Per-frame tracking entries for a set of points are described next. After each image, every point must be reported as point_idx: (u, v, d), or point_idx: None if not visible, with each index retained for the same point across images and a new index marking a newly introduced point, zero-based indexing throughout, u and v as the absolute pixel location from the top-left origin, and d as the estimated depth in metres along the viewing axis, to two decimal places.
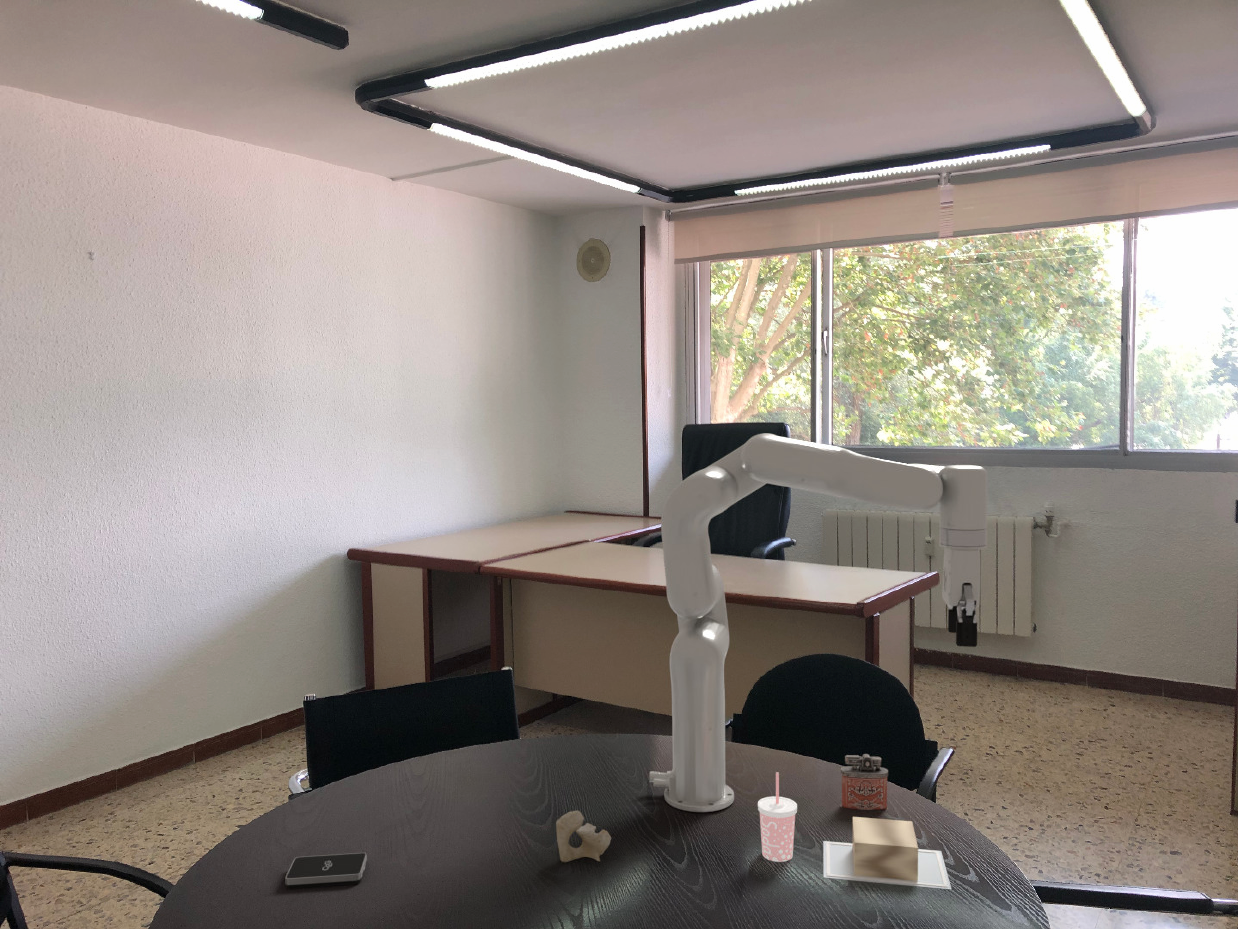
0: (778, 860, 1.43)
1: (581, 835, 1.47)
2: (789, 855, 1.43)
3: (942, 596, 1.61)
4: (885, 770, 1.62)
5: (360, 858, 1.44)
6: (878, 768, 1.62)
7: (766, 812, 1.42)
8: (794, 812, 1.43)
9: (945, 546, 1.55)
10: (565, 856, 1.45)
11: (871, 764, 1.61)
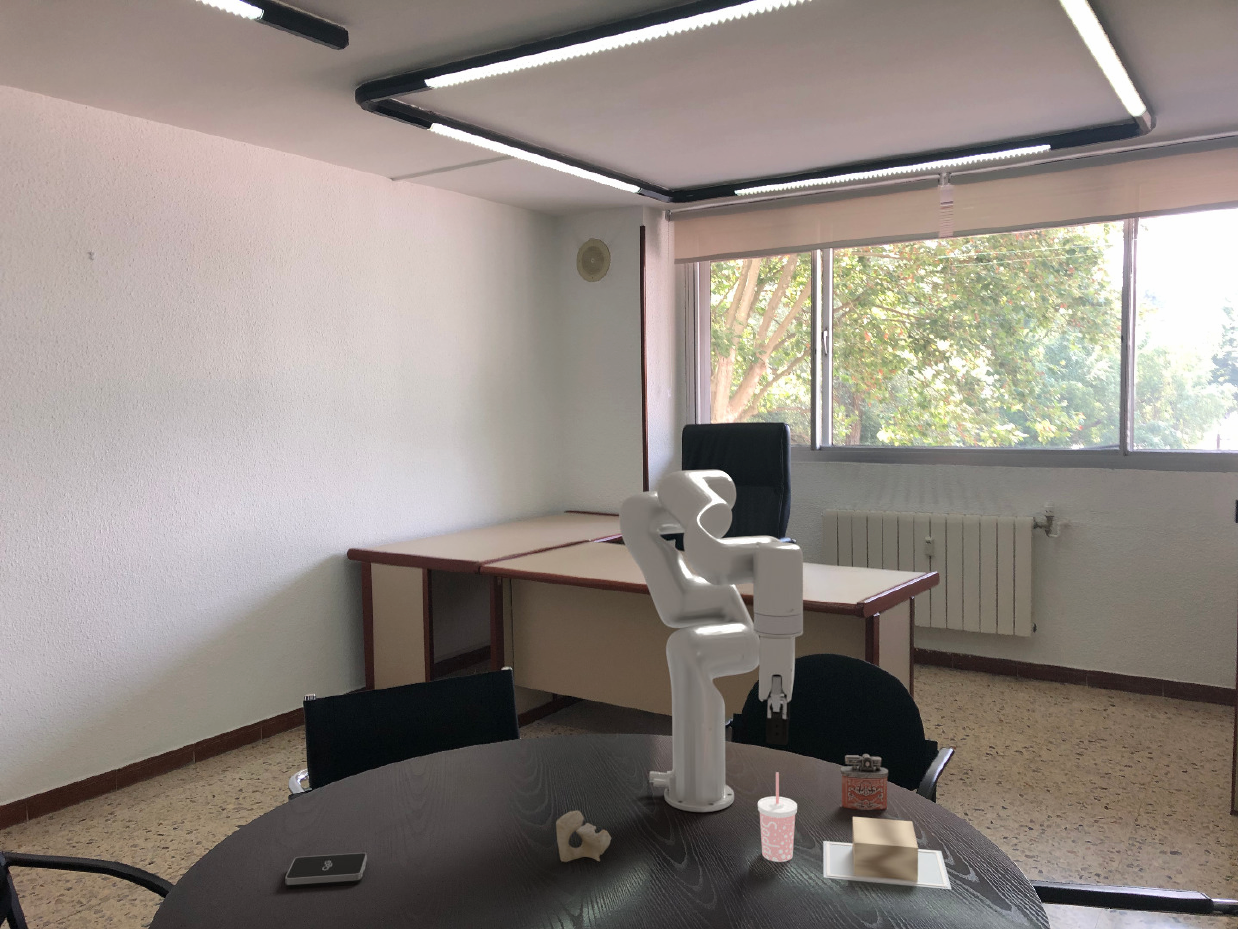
0: (778, 860, 1.43)
1: (581, 835, 1.47)
2: (789, 855, 1.43)
3: None
4: (885, 770, 1.62)
5: (360, 858, 1.44)
6: (878, 768, 1.62)
7: (766, 812, 1.42)
8: (794, 812, 1.43)
9: (757, 632, 1.42)
10: (565, 856, 1.45)
11: (871, 764, 1.61)
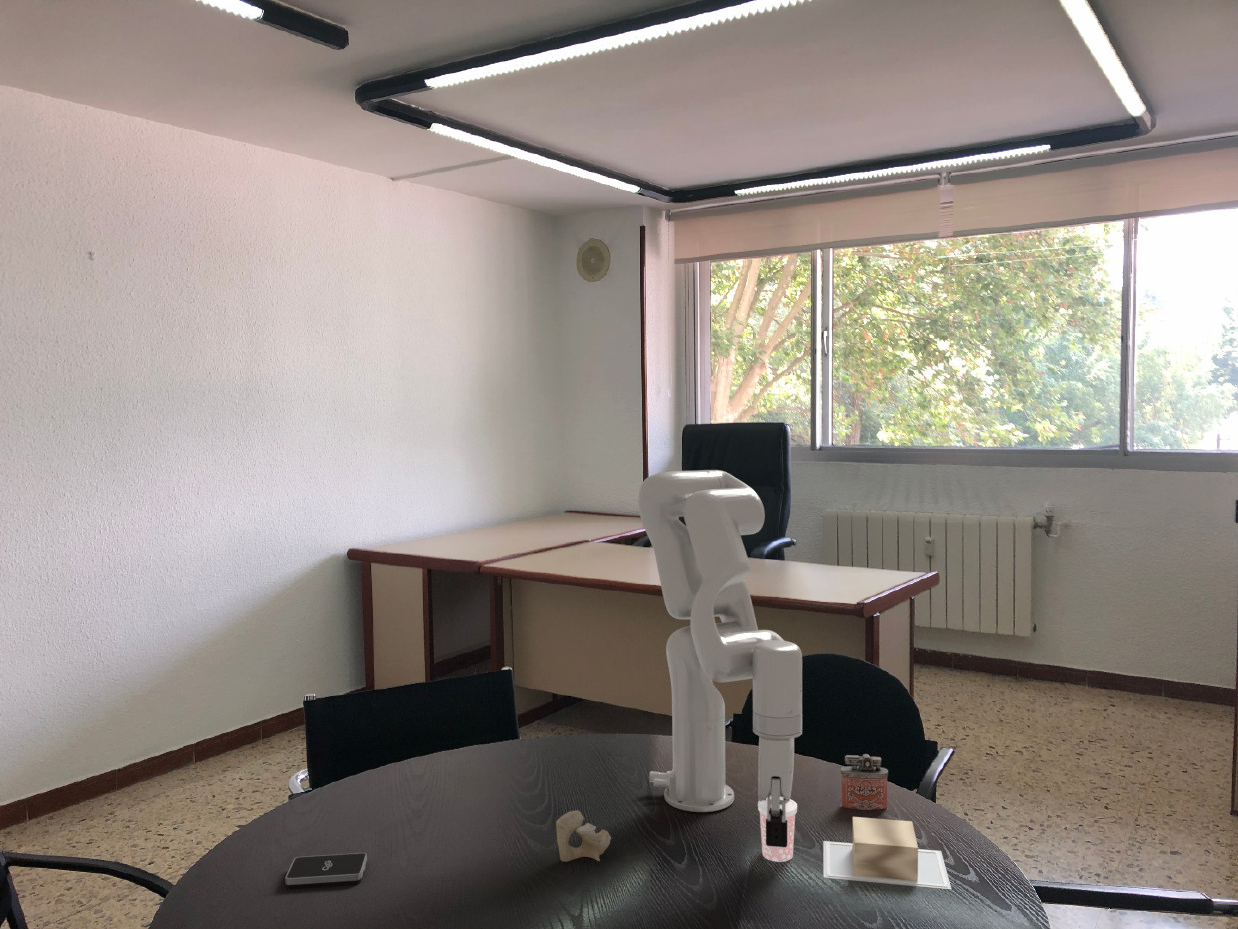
0: (778, 860, 1.43)
1: (581, 835, 1.47)
2: (789, 855, 1.43)
3: None
4: (885, 770, 1.62)
5: (360, 858, 1.44)
6: (878, 768, 1.62)
7: (766, 812, 1.42)
8: (794, 812, 1.43)
9: (756, 732, 1.43)
10: (565, 856, 1.45)
11: (871, 764, 1.61)
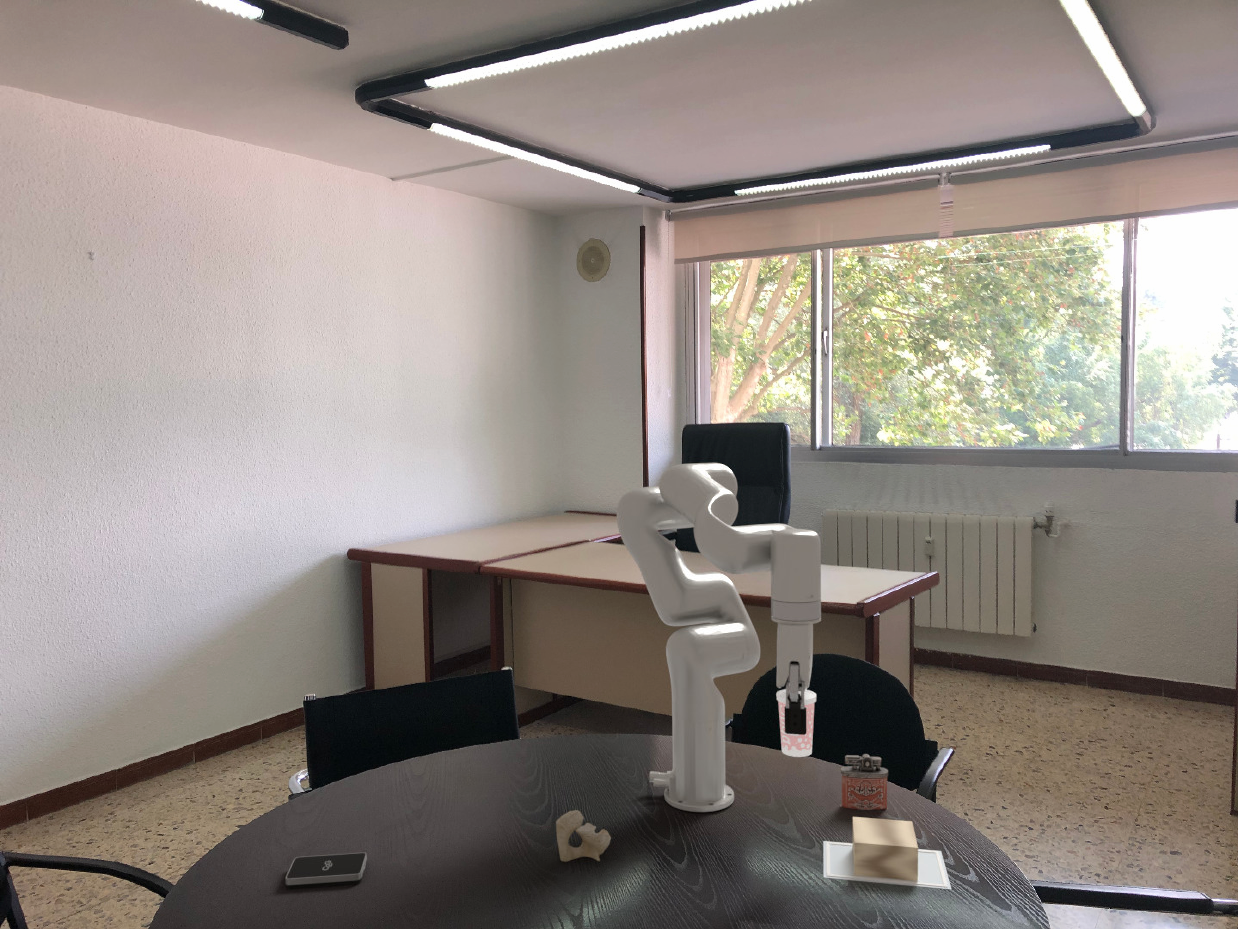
0: (797, 749, 1.41)
1: (581, 835, 1.47)
2: (808, 744, 1.41)
3: None
4: (885, 770, 1.62)
5: (360, 858, 1.44)
6: (878, 768, 1.62)
7: (784, 700, 1.41)
8: (813, 700, 1.41)
9: (774, 619, 1.41)
10: (565, 856, 1.45)
11: (871, 764, 1.61)
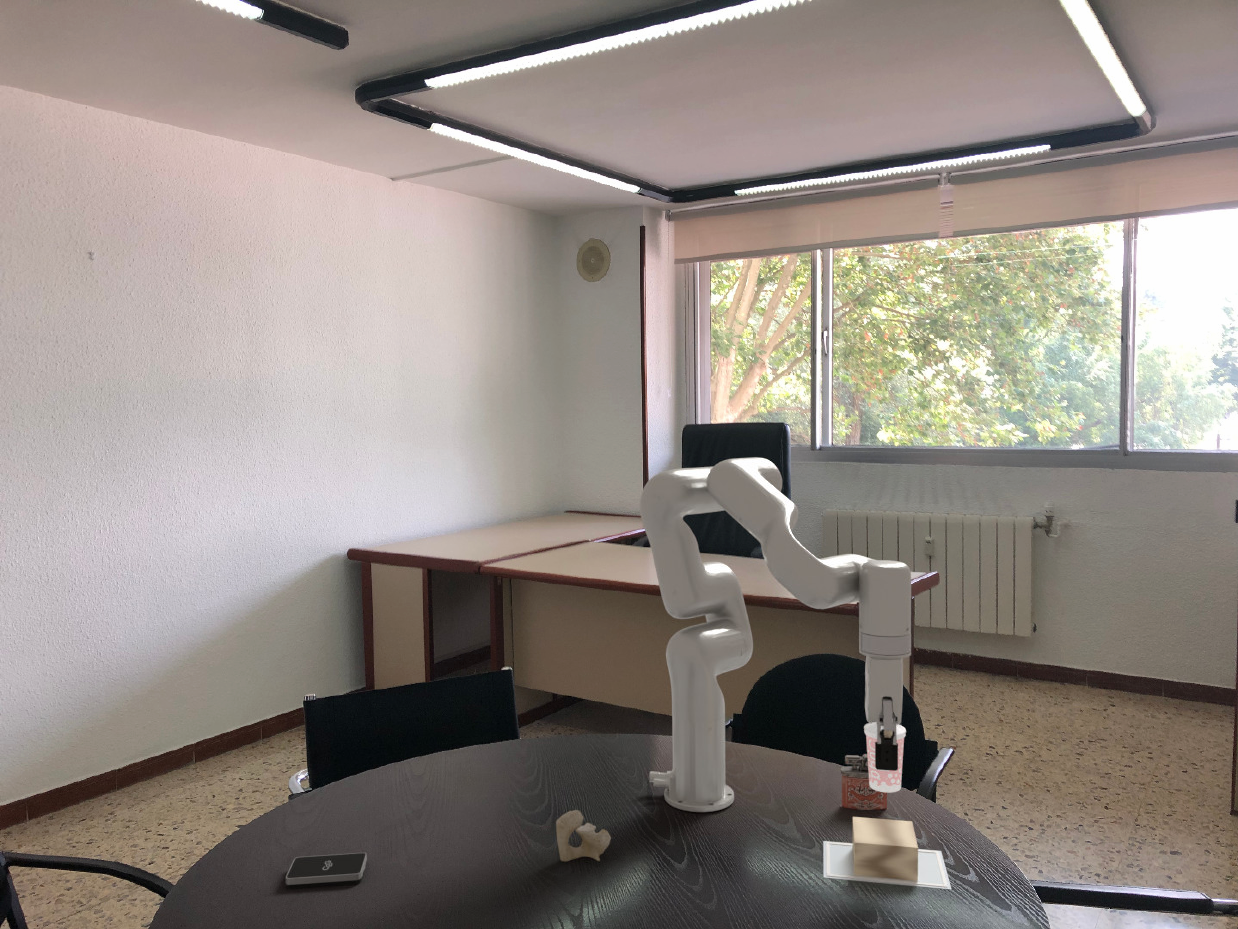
0: (887, 784, 1.39)
1: (581, 835, 1.47)
2: (898, 779, 1.39)
3: None
4: None
5: (360, 858, 1.44)
6: None
7: (875, 734, 1.38)
8: (903, 735, 1.39)
9: (864, 653, 1.38)
10: (565, 855, 1.45)
11: None
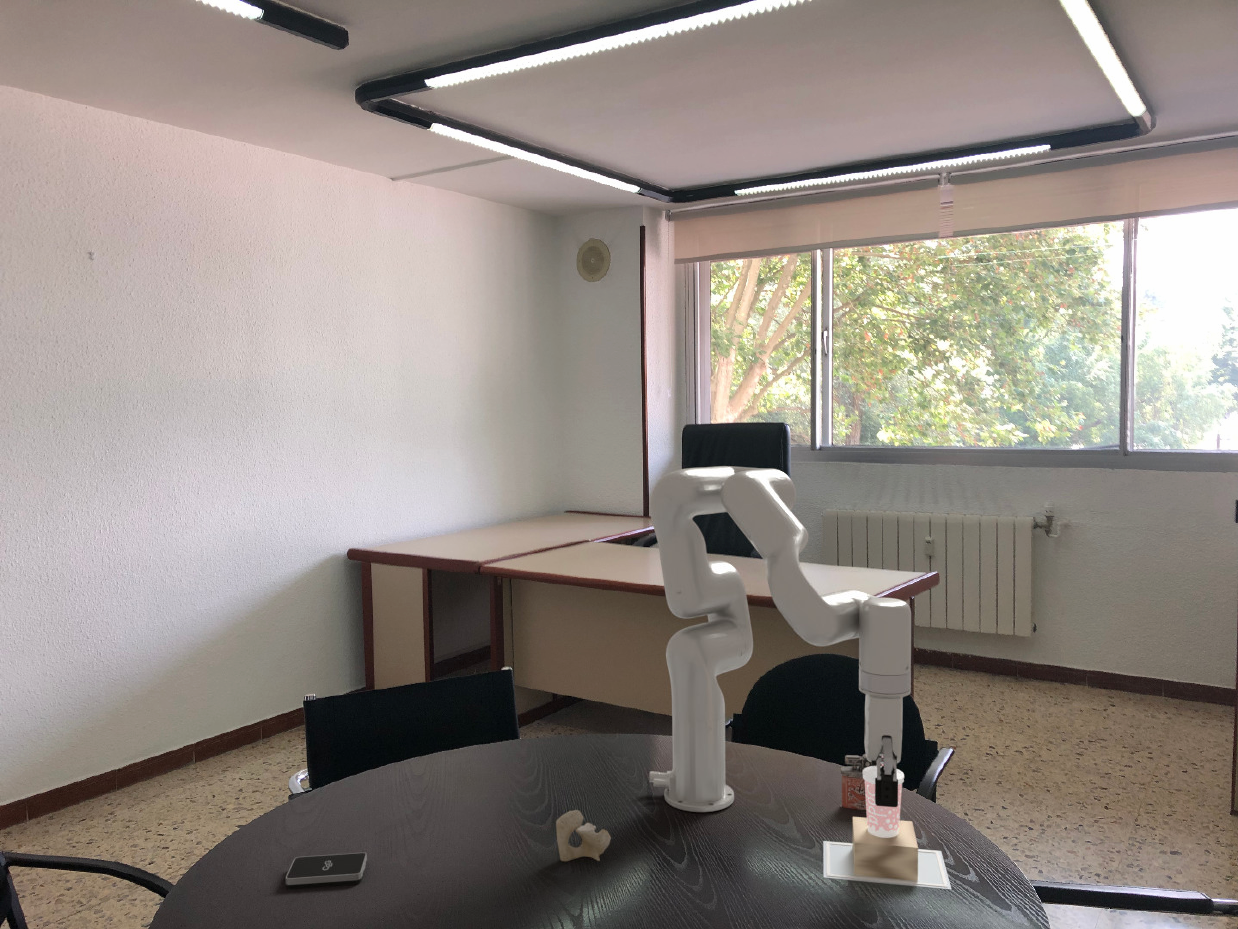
0: (885, 830, 1.39)
1: (581, 834, 1.47)
2: (896, 825, 1.40)
3: (864, 741, 1.45)
4: None
5: (360, 858, 1.44)
6: None
7: (873, 780, 1.39)
8: (902, 781, 1.39)
9: (864, 691, 1.39)
10: (565, 855, 1.45)
11: (871, 764, 1.61)
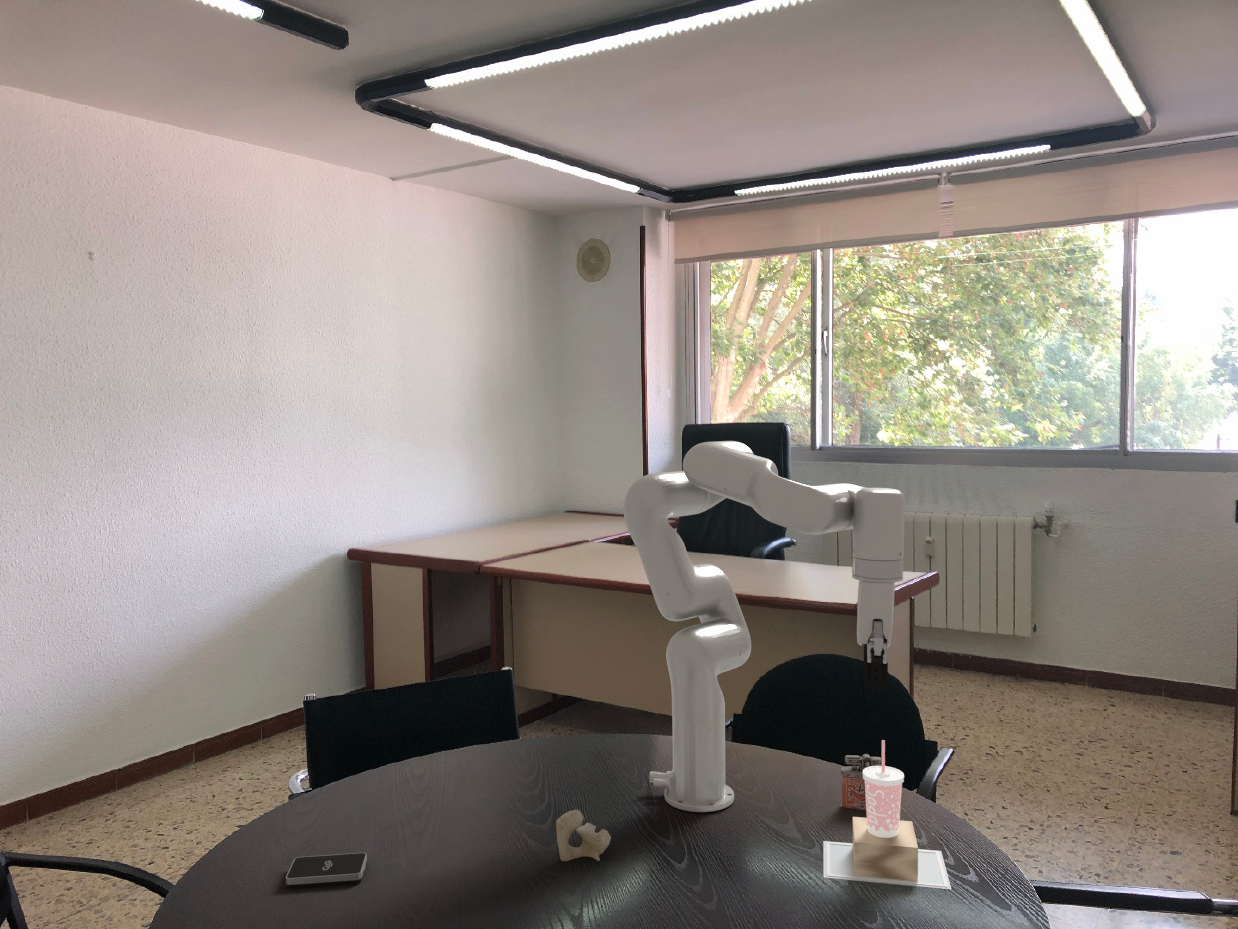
0: (885, 830, 1.39)
1: (581, 834, 1.47)
2: (896, 825, 1.40)
3: None
4: None
5: (360, 858, 1.44)
6: None
7: (873, 780, 1.39)
8: (902, 781, 1.39)
9: (857, 577, 1.41)
10: (565, 855, 1.46)
11: (871, 764, 1.61)
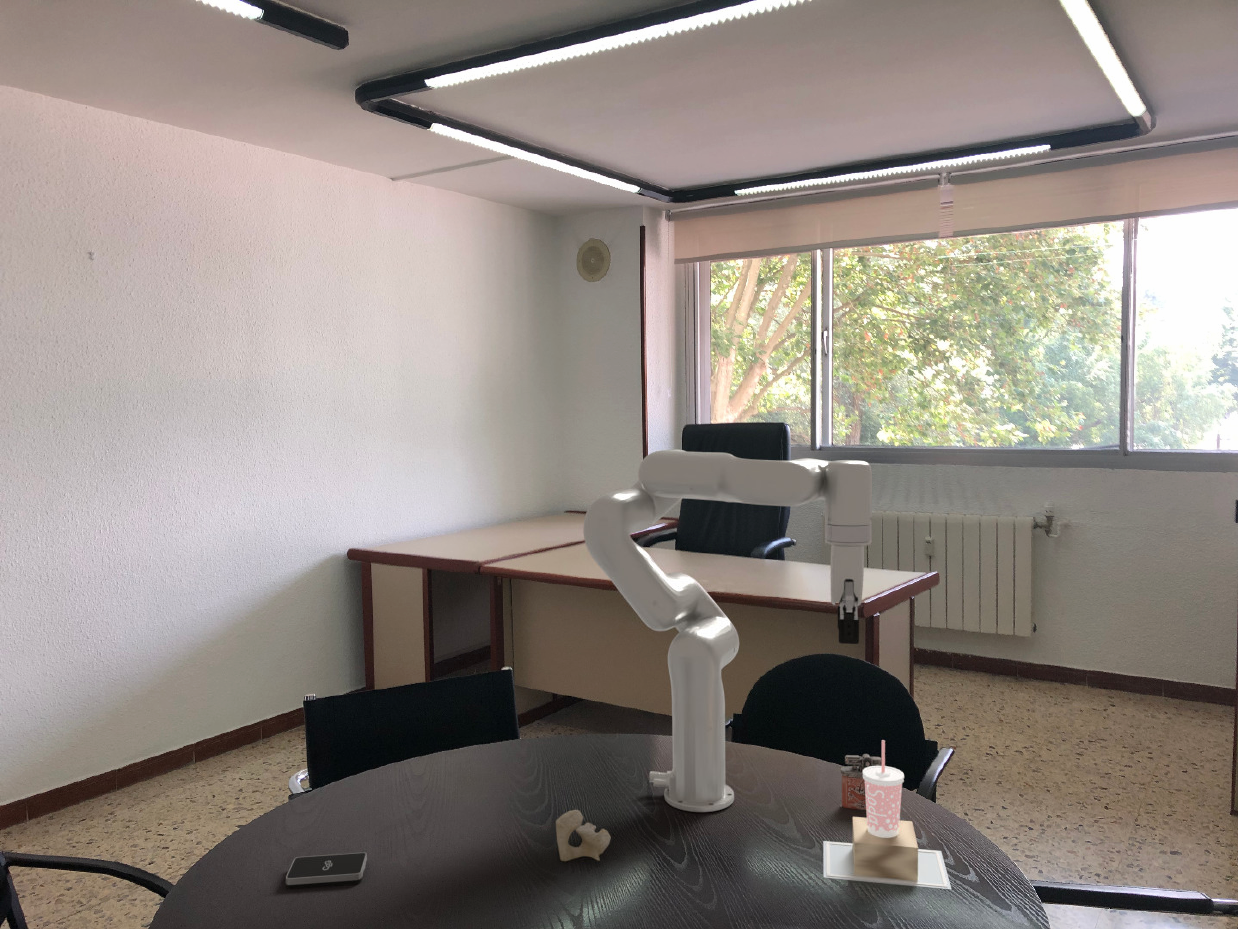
0: (885, 830, 1.39)
1: (581, 834, 1.47)
2: (896, 825, 1.40)
3: None
4: None
5: (360, 858, 1.44)
6: None
7: (873, 780, 1.39)
8: (901, 781, 1.39)
9: (829, 542, 1.53)
10: (565, 855, 1.46)
11: (871, 764, 1.61)
